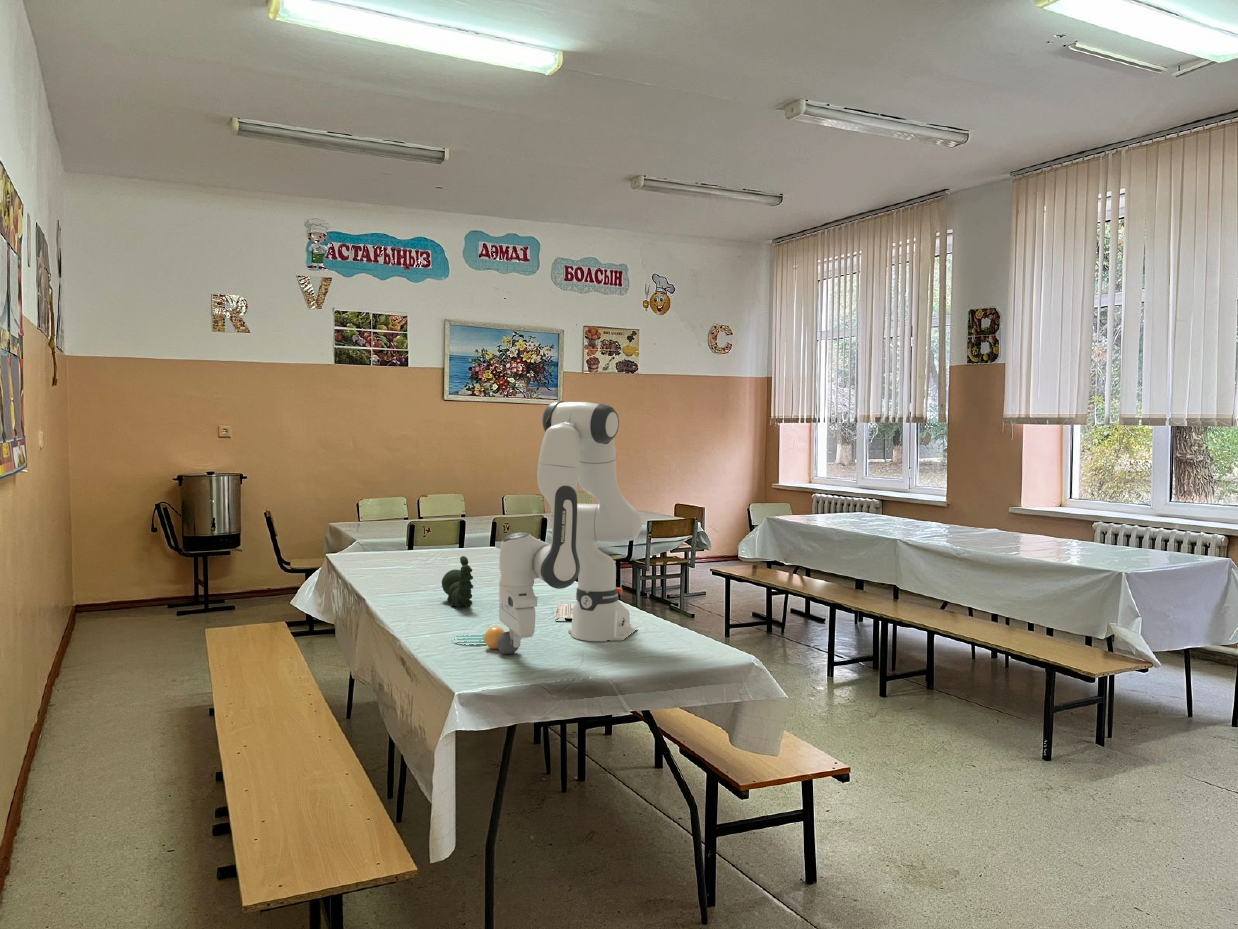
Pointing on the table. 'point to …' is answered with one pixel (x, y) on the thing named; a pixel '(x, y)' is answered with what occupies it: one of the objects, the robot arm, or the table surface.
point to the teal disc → (472, 639)
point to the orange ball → (492, 637)
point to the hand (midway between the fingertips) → (515, 646)
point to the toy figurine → (459, 585)
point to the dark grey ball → (506, 644)
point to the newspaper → (564, 611)
